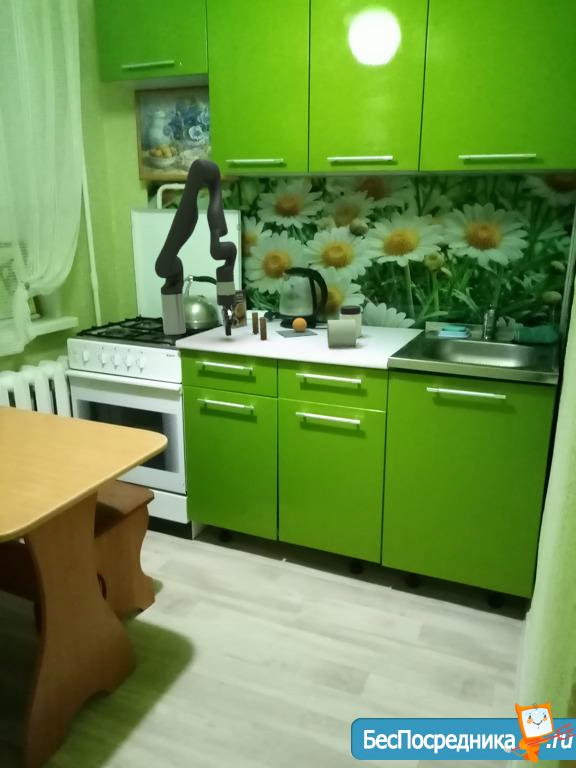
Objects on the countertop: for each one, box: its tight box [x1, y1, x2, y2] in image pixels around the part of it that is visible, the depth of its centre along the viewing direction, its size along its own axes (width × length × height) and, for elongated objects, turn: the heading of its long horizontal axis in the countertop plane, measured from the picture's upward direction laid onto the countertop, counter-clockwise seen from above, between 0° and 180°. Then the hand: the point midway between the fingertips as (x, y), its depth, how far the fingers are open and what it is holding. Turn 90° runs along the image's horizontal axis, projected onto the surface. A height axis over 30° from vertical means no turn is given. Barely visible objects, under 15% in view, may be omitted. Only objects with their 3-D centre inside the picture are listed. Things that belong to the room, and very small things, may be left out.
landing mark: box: [275, 328, 318, 338], centre depth 251 cm, size 14×14×1 cm
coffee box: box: [223, 289, 248, 329], centre depth 269 cm, size 9×6×16 cm
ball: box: [292, 317, 308, 332], centre depth 252 cm, size 6×6×6 cm
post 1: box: [251, 311, 260, 335], centre depth 251 cm, size 3×3×9 cm
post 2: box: [259, 316, 268, 341], centre depth 239 cm, size 3×3×9 cm
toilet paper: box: [326, 319, 357, 348], centre depth 223 cm, size 10×10×10 cm
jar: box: [339, 304, 362, 339], centre depth 239 cm, size 9×8×12 cm
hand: (228, 335), depth 242 cm, fingers closed
